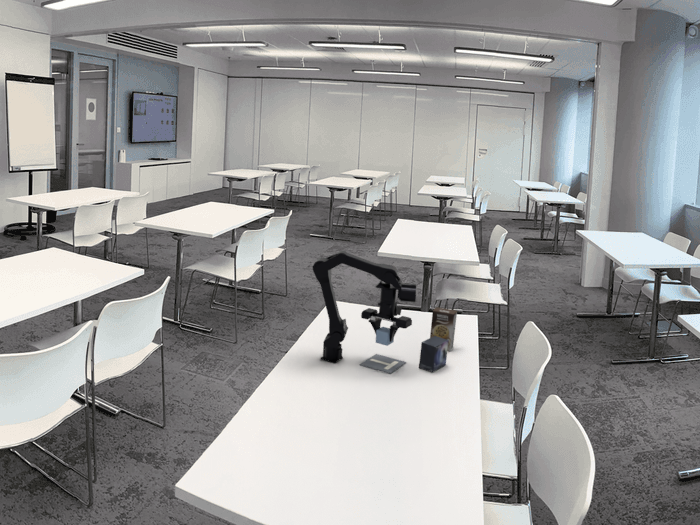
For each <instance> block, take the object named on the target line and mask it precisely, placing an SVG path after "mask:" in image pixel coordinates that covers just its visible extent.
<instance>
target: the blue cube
mask: <svg viewBox="0 0 700 525" xmlns="http://www.w3.org/2000/svg"><path fill="white" fill-rule="evenodd" d="M394 338H395V337H394ZM394 338H393V340H392V342H390V327H386V326H380V328H379V329H377V330H376V334H375V343H376V344H380V345H383V346H386V347H388V346H390V345H391V344H393V343H394V341H395V340H394Z"/></svg>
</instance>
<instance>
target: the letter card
mask: <svg viewBox="0 0 700 525" xmlns="http://www.w3.org/2000/svg"><path fill="white" fill-rule="evenodd" d="M406 364H407V361H404V360H401V359H400V360H399V359H397V358H392V357H389V356H386V355H383V354H379V353H374V355H372V356H371V357H369V358H367V359H365V360H363V361H362V362H360V363H359V366H361V367H365V368H367V369H370V370H371V369H372V370H375V371H378V372H382V373H385V374H389V375H391V374H393V373H394V372H395V371H397V370H398V369H401V367H404V365H406Z"/></svg>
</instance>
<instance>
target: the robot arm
mask: <svg viewBox="0 0 700 525" xmlns="http://www.w3.org/2000/svg"><path fill="white" fill-rule="evenodd" d="M342 264H343V265H345V266H349V267H351V268H354V269H357V270H359V271H362V272H365V273H368V274H370V275H372V276H374V277H375V278H376V279H378V280H380V281H379V282H378V283H376V284H375V289H380V294H379V295H380V296H379V302H378V303H377V307H379V311H378V310H377V309H374V308H370V307H369V308H366V309H363V311H361V313H360V318H361V319H363V320H368V323H370V325H371V327H372V329H373V331H374V334H375V335H376V330H377V329H379V328H381V324H382V321H387V322H392V324H391V325H390V326H389V328H390V342H392V340H393V338H395V336H396V334H397V332H398V330H399V329H407V328H409V327H412V326H413V320H412V318H411V317H409V316H405V315H402V316H401V314H402V309H403V307H402V306H398V303H397V301H396V298H397V299H398V300H399V301H400V302H404V303H405V302H406V303H415V304H416V300H417V283H403V281H402V279H401V278H400V276H399V273H398V269H397V268H396V266H394V265H391V264H385V263H377V262H373V261H370V260H367V259H365V258H362V257H360V256H356V255H354V254H351V253H349V252H347V251H345V250H341V251H339V252H337V253H335V254H332V255H330V256H327V257H324V256H323V257H319V258H318V259H317V260H315V262H314V263H313V265H312V272H313V274H314V275H315V279H316V281H317V282H318V283H319V285H320V288H321V294H322V296H323V300H324V304H325V308H326V312H327V316H328V321H329V322H328V331H329V332H328V333H327V334H326V336H325V338H324V339H323V348H322V349H323V350H322V351H323V352H322V356H321V357H320V360H323V361H327V362H329V363H333V364H336V363H337V362H339V361H341V360H343V359H344V356H343V348H342V345H343V344H342V342H343V341H344V340H345V338H346V335H347V332H348V329H349V327H348V326H347V325H348V324H347V319H346V318H342V316H341V314H340V311H339V307H338V303H337V299H336V296H335V290H334V288H333V284H332V283H333V282H332V269H333V268H336V267H338V266H340V265H342ZM396 316H400V317H396Z"/></svg>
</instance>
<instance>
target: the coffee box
mask: <svg viewBox="0 0 700 525" xmlns="http://www.w3.org/2000/svg"><path fill="white" fill-rule="evenodd" d="M457 315H458V310H455V309H449V308H444V307H438V306H436V307H434V309H433V310H432V315H431V316H432V317H431V324H430V325H431V327H430V332H429V333H430V334H429V335H430V336H429V338H431V337H434V336H438V337H441V338H444V339H447V340H449V341H448V350H447V352H451V351H452V349H453V348H454V341H455V332H456V325H457V318H458V316H457Z"/></svg>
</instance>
